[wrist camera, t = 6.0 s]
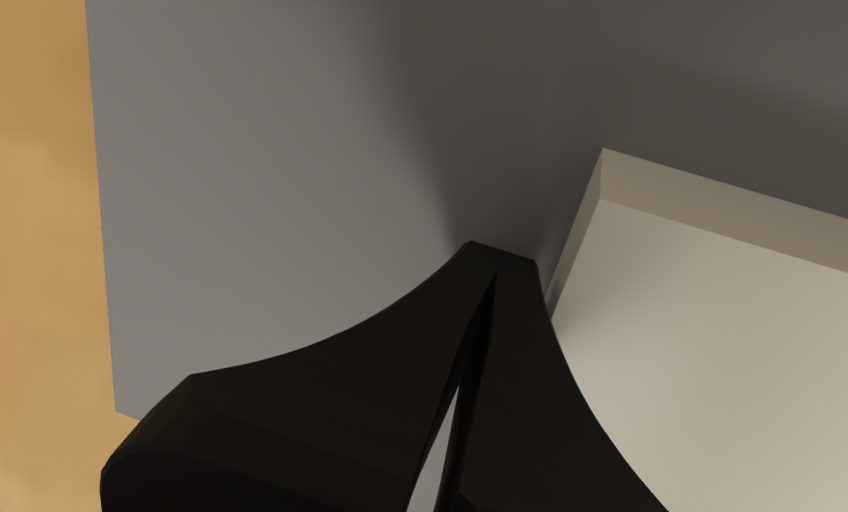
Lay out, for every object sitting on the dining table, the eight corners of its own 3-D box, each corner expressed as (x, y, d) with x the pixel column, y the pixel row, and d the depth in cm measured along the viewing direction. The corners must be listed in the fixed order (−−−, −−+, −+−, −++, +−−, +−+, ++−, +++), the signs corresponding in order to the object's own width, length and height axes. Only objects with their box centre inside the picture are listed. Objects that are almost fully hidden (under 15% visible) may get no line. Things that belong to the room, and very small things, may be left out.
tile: (884, 526, 13) (922, 621, 12) (505, 399, 14) (490, 470, 12) (1111, 295, 10) (1209, 381, 8) (602, 147, 11) (599, 198, 9)
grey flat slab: (729, 583, 17) (737, 639, 16) (148, 375, 19) (115, 411, 18) (1284, -71, 9) (1397, -59, 7) (124, -347, 10) (57, -376, 9)
